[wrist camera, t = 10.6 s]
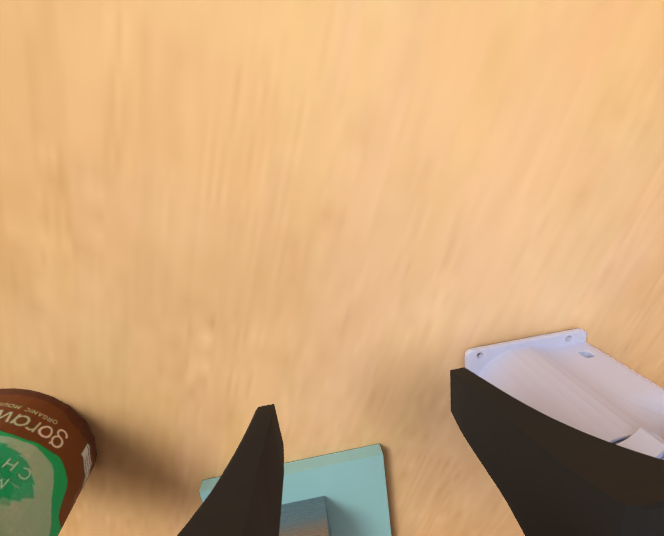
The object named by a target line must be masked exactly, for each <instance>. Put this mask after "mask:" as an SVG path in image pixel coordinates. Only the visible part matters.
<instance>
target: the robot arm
mask: <svg viewBox="0 0 664 536" xmlns="http://www.w3.org/2000/svg"><path fill="white" fill-rule="evenodd" d="M586 336H587V334H586V331H584V330H582V329H580V328H577V329H572V330H566V331H561V332H556V333H550V334H545V335H540V336H534V337H529V338H524V339H518V340H513V341H508V342H502V343H497V344H492V345H486V346H481V347H476V348H471V349H468V350H467V351H466V352H465V368H459V369H454V370H450V381H451V412H452V414H453V416H454V418H455V420H456V422H457V424H458V426H459V428H460V430H461V432H462V434H463V435H464V437H465V438H466V440H467V442H468V443H469V445H470V446H471V448H472V449H473V451H474V452H475V454H476V455H477V457H478V458H479V460H480V461H481V463H482V464H483V466H484V467H485V469H486V470H487V472H488V473H489V475H490V476H491V478H492V479H493V481H494V482H495V484H496V485H497V487H498V488H499V490H500V492H501V493H502V495H503V496H504V498H505V500H506V501H507V503H508V505H509V507H510V509H511V510H512V512H513V514H514V516H515V518H516V519H517V521H518V523H519V525H520V527H521V529H522V530H523V532H524V534H525V536H664V389H663V388H661V387H659V386H658V385H656V384H654V383H653V382H651V381H649V380H648V379H646V378H645V377H643V376H641V375H640V374H638V373H636V372H635V371H633V370H631V369H630V368H628V367H626V366H625V365H623V364H621V363H620V362H618V361H616V360H615V359H613V358H611V357H610V356H608V355H606V354H605V353H603V352H601V351H600V350H598V349H596V348H595V347H593V346H591V345H590V344H588V343H586ZM566 337H567V338H566ZM478 353H480V354H479V355H477V354H478ZM283 480H284V449H283V441H282V436H281V432H280V428H279V423H278V419H277V415H276V410H275V406H274V404H272V405H267V406H261V407H258V408H257V410H256V412H255V414H254V416H253V418H252V420H251V423H250V425H249V427H248V429H247V431H246V433H245V435H244V437H243V439H242V441H241V442H240V444H239V446H238V448H237V450H236V452H235V454H234V455H233V457H232V459H231V461H230V462H229V464H228V465H227V467H226V469H225V470H224V472H223V474H222V475H221V477H220V479H219V480H218V482H217V483H216V485H215V486H214V488H213V489H212V491H211V492H210V494H209V495H208V496H207V498H206V499H205V501H204V502H203V503H202V505H201V506H200V508H199V509H198V510H197V511H196V513H195V514H194V515H193V517H192V518H191V519H190V521H189V522H188V523H187V524H186V526H185V527H184V528H183V529H182V531H181V532H180V533H179V534H178V535H177V536H279V530H280V517H281V505H282V493H283Z"/></svg>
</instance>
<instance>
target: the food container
mask: <svg viewBox="0 0 664 536" xmlns="http://www.w3.org/2000/svg"><path fill="white" fill-rule="evenodd" d="M96 455H97V452H96V444H95V437H94V435H93V433H92V431H91V430H90V428H89V426H88V424H87V422H86V421H85V420H84V419H83V418H82V417H81V416H80V415H79V414H78V413H77V412H76V411H75V410H73V409H72V408H71V407H70V406H69V405H67V404H65V403H63V402H61V401H59V400H57V399H56V398H54V397H51V396H49V395H46V394H43V393H40V392H35V391H31V390H24V389H0V536H58V534H59V532H60V531H61V529H62V527H63V525H64V523H65V521H66V519H67V517H68V515H69V513H70V511H71V509H72V507H73V505H74V503H75V501H76V499H77V497H78V495H79V493H80V492H81V490H82V488H83V486H84V484H85V482H86V480H87V478H88V476H89V474H90V472H91V470H92V468H93V466H94V462H95V459H96Z"/></svg>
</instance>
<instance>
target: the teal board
mask: <svg viewBox="0 0 664 536" xmlns="http://www.w3.org/2000/svg"><path fill="white" fill-rule="evenodd" d="M220 477H221V476H220ZM220 477H216V478H211V479H206V480H203V481H202V484H201V488H200V491H199V494H200V496H201V499H202V502H204V501H205V499H206V498H207V496H208V495H209V494H210V492H211V491H212V489H213V488H214V486H215V485H216V483H217V482H218V480H219V479H220ZM320 496H325V501H326V506H327V512H328V517H329V523H330V528H331V534H332V536H391V527H390V518H389V508H388V498H387V489H386V479H385V469H384V460H383V453H382V450H381V447H380V444H376V445H371V446H366V447H361V448H356V449H351V450H347V451H342V452H337V453H332V454H327V455H322V456H317V457H313V458H308V459H303V460H298V461H293V462H288V463H284V480H283V493H282V504H287V503H292V502H297V501H301V500H306V499H311V498H316V497H320Z"/></svg>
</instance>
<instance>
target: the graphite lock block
mask: <svg viewBox="0 0 664 536" xmlns="http://www.w3.org/2000/svg"><path fill="white" fill-rule="evenodd" d="M279 536H332V534H331V528H330V523H329V517H328V512H327V506H326V501H325V496H320V497H316V498H311V499H306V500H301V501H297V502H292V503H287V504H282V505H281V517H280V530H279Z"/></svg>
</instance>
